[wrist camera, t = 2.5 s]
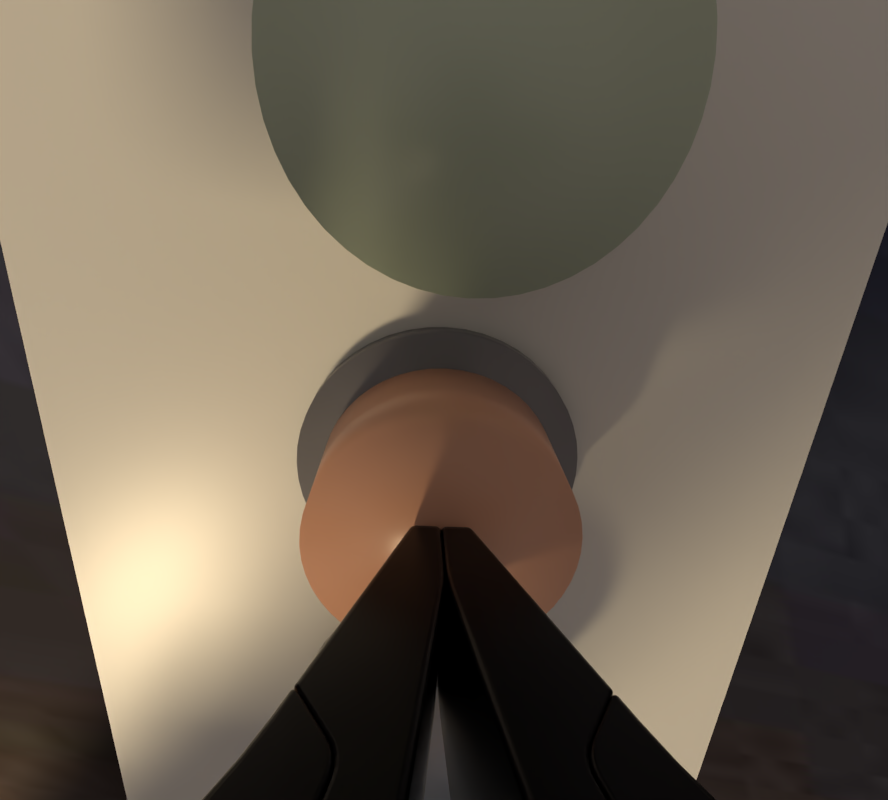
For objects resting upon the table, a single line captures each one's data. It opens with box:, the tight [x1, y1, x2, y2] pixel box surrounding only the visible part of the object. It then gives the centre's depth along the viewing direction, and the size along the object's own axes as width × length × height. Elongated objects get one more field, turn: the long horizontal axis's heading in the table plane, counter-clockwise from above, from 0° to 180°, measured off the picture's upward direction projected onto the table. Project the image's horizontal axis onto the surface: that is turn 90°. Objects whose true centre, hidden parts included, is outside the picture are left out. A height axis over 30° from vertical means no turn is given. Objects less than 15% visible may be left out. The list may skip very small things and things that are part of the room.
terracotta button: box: [299, 369, 583, 622], centre depth 9 cm, size 4×4×2 cm
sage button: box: [252, 0, 717, 298], centre depth 6 cm, size 4×4×2 cm
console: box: [0, 0, 888, 800], centre depth 12 cm, size 23×14×2 cm, turn 176°
